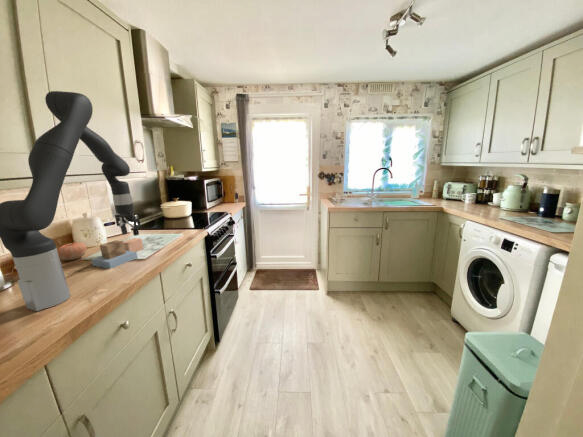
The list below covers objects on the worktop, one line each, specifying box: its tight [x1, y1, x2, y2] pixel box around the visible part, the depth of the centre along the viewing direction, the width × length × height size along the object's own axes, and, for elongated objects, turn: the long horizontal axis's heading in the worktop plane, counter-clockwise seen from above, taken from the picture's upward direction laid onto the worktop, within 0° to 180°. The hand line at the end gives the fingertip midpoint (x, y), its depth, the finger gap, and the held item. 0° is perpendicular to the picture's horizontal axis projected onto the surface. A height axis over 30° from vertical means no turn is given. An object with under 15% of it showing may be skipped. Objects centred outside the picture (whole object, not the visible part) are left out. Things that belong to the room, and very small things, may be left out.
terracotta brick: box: [123, 237, 144, 253], centre depth 118 cm, size 7×5×6 cm
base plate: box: [91, 251, 138, 270], centre depth 105 cm, size 12×12×3 cm
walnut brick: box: [99, 239, 126, 259], centre depth 104 cm, size 7×5×6 cm
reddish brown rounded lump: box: [57, 242, 87, 261], centre depth 111 cm, size 11×11×8 cm
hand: (130, 234), depth 117 cm, fingers open, 8 cm apart
